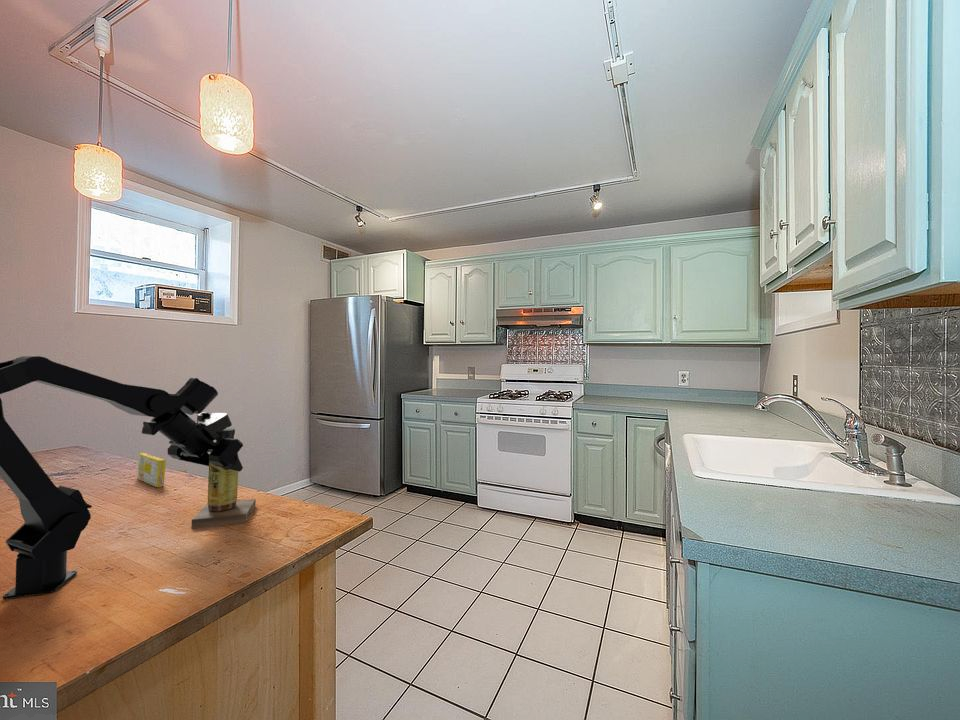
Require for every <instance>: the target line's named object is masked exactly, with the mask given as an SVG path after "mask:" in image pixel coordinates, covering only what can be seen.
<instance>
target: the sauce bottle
mask: <svg viewBox="0 0 960 720" xmlns="http://www.w3.org/2000/svg"><path fill="white" fill-rule="evenodd" d="M217 434H218V435H219V437H218V438H217V439H216V440H215V442H217V443H219V442H220V441H221V440H222V439H224V438H233V439H235V434H236V429H235V427H234V428H233V427H227V428H226V429H224V430H222V431H221V432H219V433H217ZM237 455H238V456H239V453H237ZM207 481H208V482H207V484H208V485H207V488H208V489H207V503H208V509H209V510H211V511H214V512H218V511H224V510H228V509H232V508H234V507H235V506H236V501H237V500H238V487H239V471H235V470H231V469H227V468H222V467H218V466H215V464H213V463H211V462H210V461H209V466H208V478H207Z"/></svg>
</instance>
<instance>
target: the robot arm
mask: <svg viewBox="0 0 960 720" xmlns="http://www.w3.org/2000/svg"><path fill="white" fill-rule="evenodd" d="M33 382H36V383H39V384H44V385H46V386H51V387H54V388H57V389H61V390H64V391H69V392H72V393H75V394H78V395H84V396H87V397H91V398H94V399H97V400H101V401H104V402H106V403H107V404H108V403H109V404H110V405H112V406H113V407H115V408H116V409H119V410H121V411H123V412H126V413H128V414H129V415H132V416H141V417H149V418H151V419H150V420H148V421H143V422H142V425H143V426H142V429H141V434H142V435H149V436H155V435H156V434H157V433H158V432H159V433H161V434H162V435H163V437H165V438H167V439H168V440H169V441H168V443H169V444H170V446H169V447H167V455H168V456H169V457H171V458H172V459H175V460H178V461H182V462H187V463H192V464H196V465H201V466H206V467H209V461H210V462H211V463H213V464H215V466H218V467H222V468H227V469H231V470H235V471H238V473H240V472H241V471H242V470H243V469H244V467H243V465H242V462H241V460H240V458H239V453H238V452H240V451H241V450H242V448H243V447H244V443H243V442H242V441H240V439H238V438H234V439H233V438H224V439H222V440H221V441H220V442H219V443H217V442H216V439H217V438H218V437H219V435H218V434H217V433H219V432H221V431H222V430H224V429H226V428H231V426H232V425H233V424H232V421H231V419H230V417H229V416H230V415H228V413H227V412H211V413H209V412H207V411H205V412H204V410H205V409H206V408H207V407H208V406H209V405H210V404H211V403H212V402H213V401H214V399H216V398H217V397H218V395H219V392H218V391H217V389H216V388H215V387H214V386H211V385H210V384H208V383H207V382H204V381H201V380H200V379H199V378H198V377H190V378H189V379H188V380H187V381H186V382H185V384H184V385H183V386H182V387H181V388H179V389H178V391H176V393H168V392H167V391H166V390H164V389H162V388H161V389H160V388H152V387H146V386H139V385H133V384H128V383H127V384H125V383H121V382H118V381H115V380H111V379H109V378H105V377H103V376H99V375H96V374H93V373H91V372H87V371H83V370H80V369H77V368H74V367H71V366H68V365H64V364H62V363H59V362H55V361H53V360H51V359H49V358H47V357H46V356H40V355H23V356H19V357H16V358H13V359H11V360H7V361H2V362H0V395H2V394H5V393H7V392H8V393H9V392H11V391H14V390H17V389H19V388H21V387H23V386H26V385H28V384H31V383H33ZM3 407H4V406H3V401H2V398H1V397H0V479H2V480H3V482H4V483H5V485H7V486H8V488H9V489H10V490H11V491H12V493H13V494H14V495H15V497H16V498H17V499H18V501H19V509H20V514H21V517H22V520H23V521H24V523H23V524H22V525H21V526H20V527H19V528H18V529H17V530H16V531H15V532H14V533H13V534H11V535H10V536H9V537H8V538H7V539H6V540H5V544H6V545H7V547H8V549H9V550H10V552H16V553H18V554H17V555H16V559H15V587H13V588H11V589H10V590H9V591H8V592H6V593H4V594H3V595H2V596H1V597H2V598H3V599H2V600H6V599H14V598H21V597H22V598H23V597H29V596H36V595H43V594H51V593H54V592H56V591H57V590H58V589H60V588H61V587H62V586H63V585H65V584H66V583H67V582H68V581H69V580H71V579H73V577H75V575H77V574H78V570H77V569H74V570H68V571H67V567H68V566H67V563H68V561H67V559H68V551H70V550H73V549H75V547H76V545H77V543H78V541H79V539H80V536H81V533H82V532H83V531H85V529H86V527H87V526H88V525H89V522H90V520H91V518H92V516H91V515H92V514H91V512H90V510H89V509H92V507H93V505H91V504H89V503H87V502H86V501H85V499H84V497H83V494H82V493H81V491H80V490H79V489H76V488H73V487H68V486H64V485H59V486H56V485H55V483H54V482H53V481H52V480H51V478H50V477H49V475H48V474H47V473H46V472H45V470H44V469H43V468H42V466H41V465H40V464H39V462H38V461H37V460H36V458H35V457H34V456H33V454H32V453H31V452H30V451H29V449H28V448H27V447H26V445H25V444H24V443H23V441H22V440H21V439H20V438H19V436H18V435H17V434H16V432H15V430H13V428H12V427H11V425H10V424H9V423H8V422H7V421H6V418H5V414H4V408H3ZM194 414H196V415H197V418H196V421H195V420H194V419H192V418H191V417H190V416H193V415H194ZM189 415H190V416H189ZM237 453H238V455H237Z"/></svg>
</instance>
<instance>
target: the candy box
mask: <svg viewBox="0 0 960 720" xmlns="http://www.w3.org/2000/svg"><path fill="white" fill-rule="evenodd" d="M137 459H138V460H137V474H136V479H137V480H139V481H140V482H141V481H142V482H143V481H144V482H143V483H146V484H147V485H150V486H152V487H154V486H155V488H156V487H159V488H162V487H161V486H163V487H164V486H165V474H166V459H164V458H161V457H158V456H154V455H152V454H149V453H146V452H141V453H138V457H137Z"/></svg>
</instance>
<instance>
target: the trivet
mask: <svg viewBox="0 0 960 720" xmlns="http://www.w3.org/2000/svg"><path fill="white" fill-rule="evenodd" d="M256 502H257V501H256V498H251V499H240V500H238V499H237V501H236V506H235V507H234V508H232V509H228V510H224V511H218V512H214V511H211V510H209V509H208V502H207V503H205V505H204V506H203V507H202V508H201V509H200V510H199V511H198V512H197V513H196V514H195V516H193V518H191V529H197V528H198V529H199V528H207V527H216V526H226V525H237V524H246V523H247V521H248V520H249V518H250V516H251V515H252V513H253V511H254V510H253V509H255V508H256ZM254 507H255V508H254ZM251 512H252V513H251ZM250 514H251V515H250ZM247 519H248V520H247Z"/></svg>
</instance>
